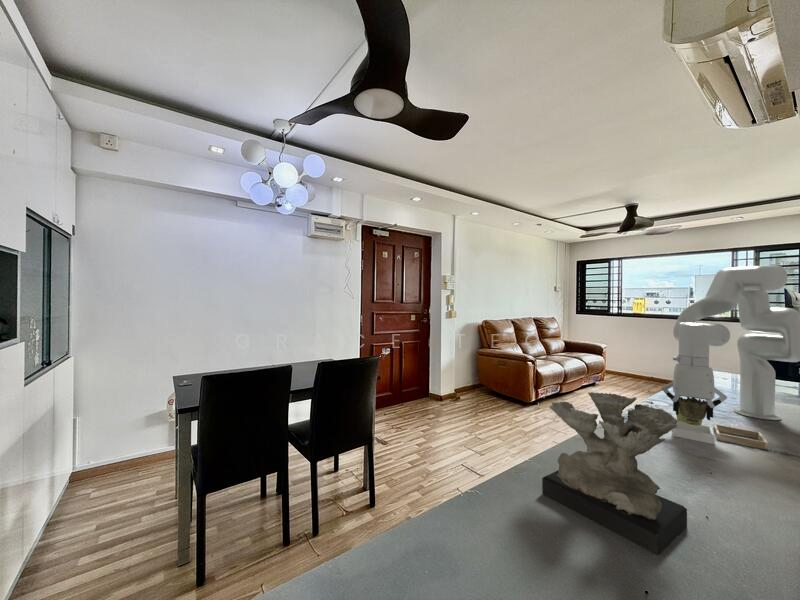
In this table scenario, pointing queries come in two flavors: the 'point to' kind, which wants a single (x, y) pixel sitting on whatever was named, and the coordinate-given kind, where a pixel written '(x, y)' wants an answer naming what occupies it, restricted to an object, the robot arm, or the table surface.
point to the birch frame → (739, 440)
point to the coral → (617, 472)
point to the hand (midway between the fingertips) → (692, 415)
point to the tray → (694, 432)
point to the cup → (692, 410)
